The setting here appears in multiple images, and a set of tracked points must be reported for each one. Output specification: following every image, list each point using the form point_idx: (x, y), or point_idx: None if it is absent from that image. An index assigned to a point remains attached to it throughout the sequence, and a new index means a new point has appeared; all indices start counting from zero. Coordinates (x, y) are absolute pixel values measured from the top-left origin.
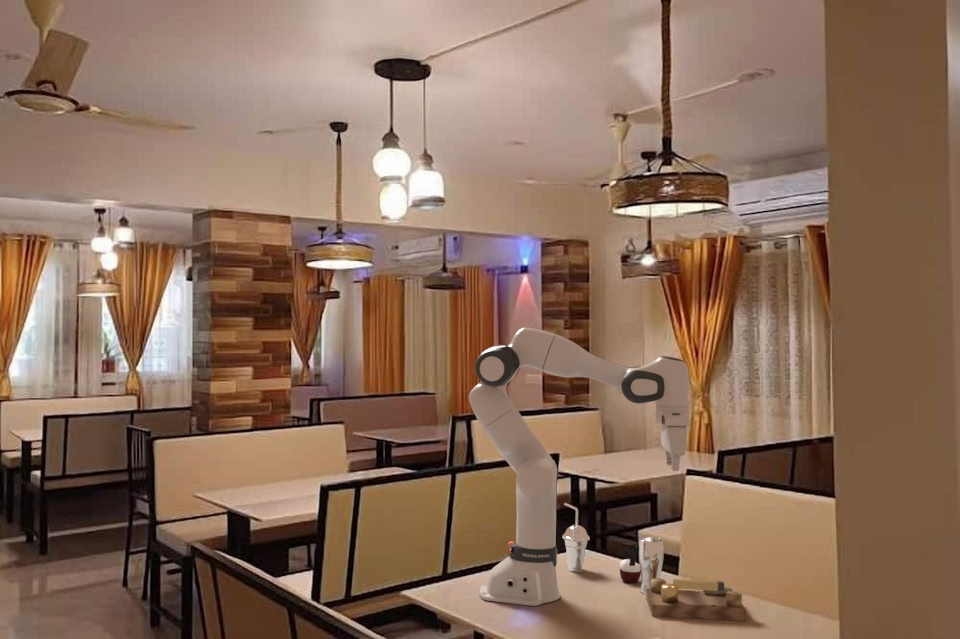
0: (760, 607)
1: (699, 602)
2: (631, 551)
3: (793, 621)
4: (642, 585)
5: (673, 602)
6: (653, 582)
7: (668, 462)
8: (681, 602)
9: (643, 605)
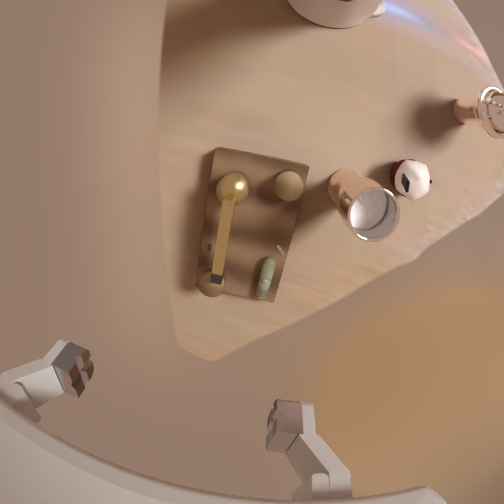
0: (256, 318)
1: None
2: (406, 177)
3: (203, 329)
4: (344, 173)
5: None
6: (282, 173)
7: (278, 415)
8: None
9: (273, 148)
